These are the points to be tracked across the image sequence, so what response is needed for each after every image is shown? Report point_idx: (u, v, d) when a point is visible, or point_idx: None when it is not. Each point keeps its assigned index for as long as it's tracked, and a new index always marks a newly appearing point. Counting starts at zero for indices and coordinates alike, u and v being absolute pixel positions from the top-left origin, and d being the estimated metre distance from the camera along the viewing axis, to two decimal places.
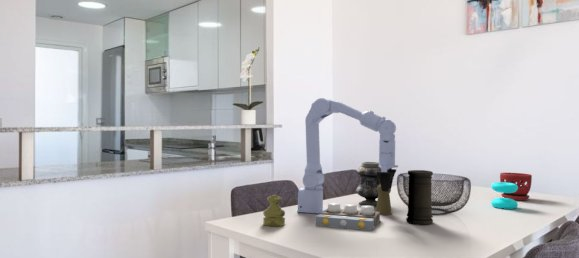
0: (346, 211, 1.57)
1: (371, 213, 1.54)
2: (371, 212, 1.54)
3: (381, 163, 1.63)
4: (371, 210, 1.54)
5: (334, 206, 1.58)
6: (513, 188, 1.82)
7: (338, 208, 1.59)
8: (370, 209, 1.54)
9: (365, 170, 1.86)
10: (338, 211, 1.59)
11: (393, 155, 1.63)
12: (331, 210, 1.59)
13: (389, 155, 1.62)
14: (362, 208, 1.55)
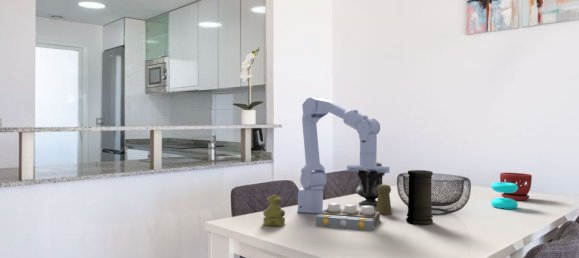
0: (346, 211, 1.57)
1: (371, 213, 1.54)
2: (371, 212, 1.54)
3: None
4: (371, 210, 1.54)
5: (334, 206, 1.58)
6: (513, 188, 1.82)
7: (338, 208, 1.59)
8: (370, 209, 1.54)
9: None
10: (338, 211, 1.59)
11: (363, 156, 1.54)
12: (331, 210, 1.59)
13: (360, 155, 1.56)
14: (362, 208, 1.55)
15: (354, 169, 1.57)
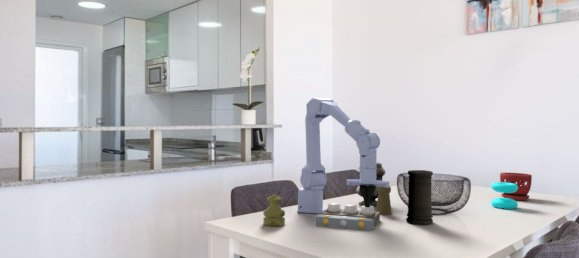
0: (346, 211, 1.57)
1: (371, 213, 1.54)
2: (371, 212, 1.54)
3: None
4: (371, 210, 1.54)
5: (334, 206, 1.58)
6: (513, 188, 1.82)
7: (338, 208, 1.59)
8: (370, 209, 1.54)
9: None
10: (338, 211, 1.59)
11: (362, 170, 1.54)
12: (331, 210, 1.59)
13: (360, 170, 1.56)
14: (362, 208, 1.55)
15: (354, 183, 1.58)
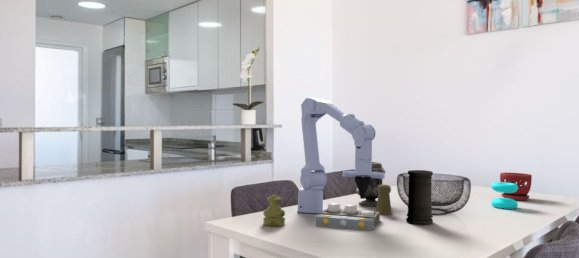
0: (346, 211, 1.57)
1: None
2: None
3: None
4: (371, 215, 1.54)
5: (334, 206, 1.58)
6: (513, 188, 1.82)
7: (338, 208, 1.59)
8: (370, 214, 1.54)
9: None
10: (338, 211, 1.59)
11: (358, 162, 1.55)
12: (331, 210, 1.59)
13: (355, 161, 1.56)
14: (362, 213, 1.55)
15: (349, 175, 1.58)
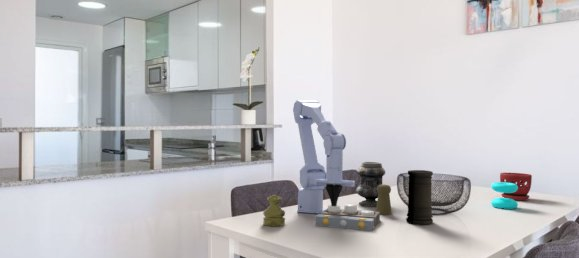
0: (346, 211, 1.57)
1: None
2: None
3: None
4: (371, 215, 1.54)
5: (334, 207, 1.58)
6: (513, 188, 1.82)
7: (338, 209, 1.59)
8: (370, 214, 1.54)
9: (365, 170, 1.86)
10: (338, 212, 1.59)
11: (329, 170, 1.58)
12: (331, 211, 1.59)
13: (326, 169, 1.60)
14: (362, 213, 1.55)
15: (321, 183, 1.62)
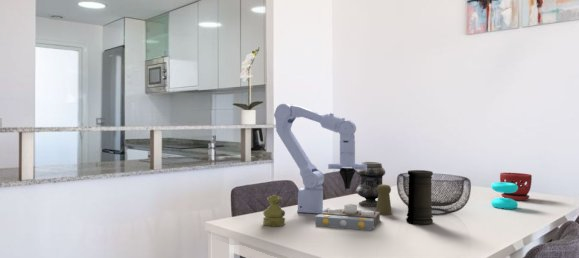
0: (346, 211, 1.57)
1: None
2: None
3: None
4: (371, 215, 1.54)
5: (334, 211, 1.58)
6: (513, 188, 1.82)
7: None
8: (370, 214, 1.54)
9: (365, 170, 1.86)
10: None
11: (342, 154, 1.68)
12: None
13: (340, 154, 1.70)
14: (362, 213, 1.55)
15: (335, 167, 1.71)
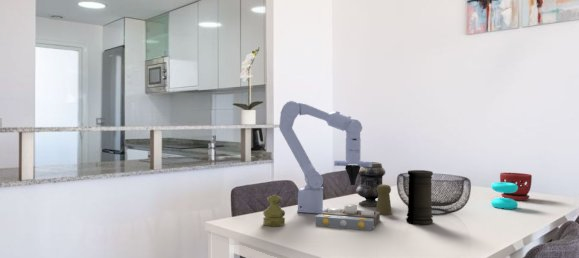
0: (346, 211, 1.57)
1: None
2: None
3: None
4: (371, 215, 1.54)
5: (334, 211, 1.58)
6: (513, 188, 1.82)
7: None
8: (370, 214, 1.54)
9: (365, 170, 1.86)
10: None
11: (348, 152, 1.73)
12: None
13: None
14: (362, 213, 1.55)
15: (341, 164, 1.77)
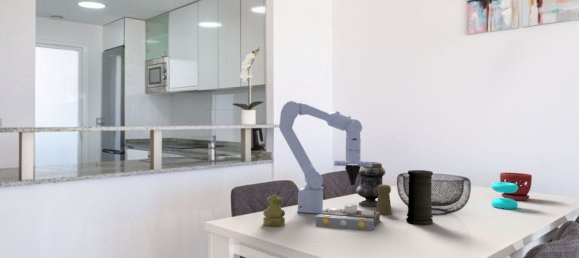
0: (346, 211, 1.57)
1: None
2: None
3: None
4: (371, 215, 1.54)
5: (334, 211, 1.58)
6: (513, 188, 1.82)
7: None
8: (370, 214, 1.54)
9: (365, 170, 1.86)
10: None
11: (348, 152, 1.73)
12: None
13: None
14: (362, 213, 1.55)
15: (341, 164, 1.77)
